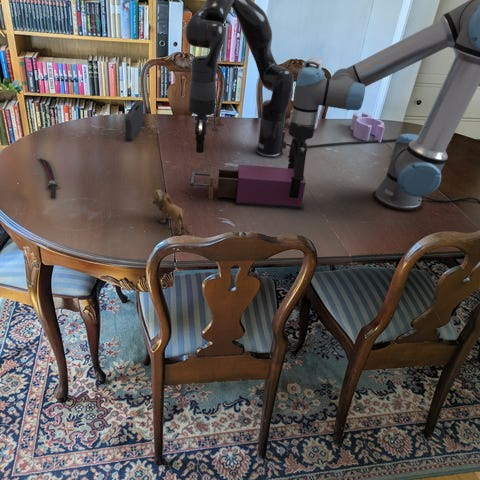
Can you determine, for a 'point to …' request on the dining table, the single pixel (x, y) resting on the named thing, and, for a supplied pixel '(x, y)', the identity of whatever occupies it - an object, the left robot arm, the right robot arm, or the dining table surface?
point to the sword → (52, 181)
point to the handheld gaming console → (134, 120)
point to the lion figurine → (169, 209)
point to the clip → (366, 127)
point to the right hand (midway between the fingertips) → (291, 189)
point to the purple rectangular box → (267, 187)
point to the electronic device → (319, 66)
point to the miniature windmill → (217, 109)
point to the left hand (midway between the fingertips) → (199, 151)
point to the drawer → (220, 182)
